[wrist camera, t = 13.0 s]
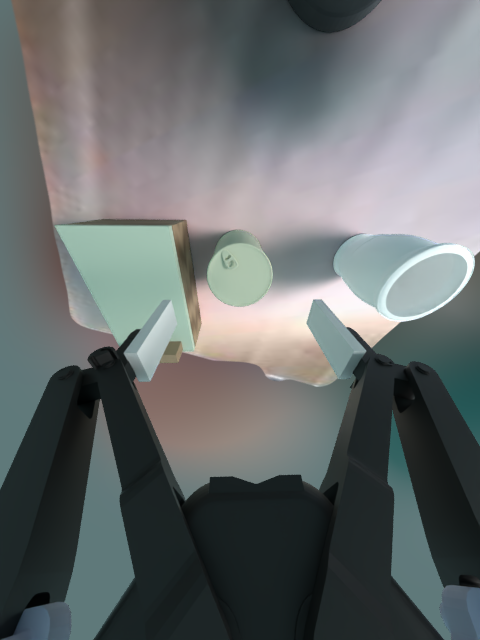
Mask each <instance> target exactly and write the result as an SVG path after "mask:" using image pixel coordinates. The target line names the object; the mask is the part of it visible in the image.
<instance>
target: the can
mask: <svg viewBox="0 0 480 640" xmlns="http://www.w3.org/2000/svg"><path fill="white" fill-rule="evenodd" d="M272 277H273V271H272V266H271V263H270V261H269V259H268V257H267V256H266V254H265V253H264V252H263V251H262V249H261V245H260V243H259V241H258V240H257V239H256V238H255V237H254V236H253V235H252V234H251V233H249V232H246V231H243V230H233V231H230V232H228V233H226V234H225V235H223V236H222V237H221V238H220V239H219V241H218V243H217V245H216V247H215V252H214V255H213V257H212V259H211V260H210V262H209V265H208V269H207V281H208V285H209V287H210V290H211V291H212V293H213V294H214V295H215V296H216V297H217V298H218V299H219V300H220V301H222V302H223V303H225V304H228V305H231V306H237V307H242V306H248V305H251V304H254V303H256V302H257V301H259V300H260V299H261V298H263V297H264V295H265V294H266V293H267V292H268V290H269V288H270V286H271V283H272Z"/></svg>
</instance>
